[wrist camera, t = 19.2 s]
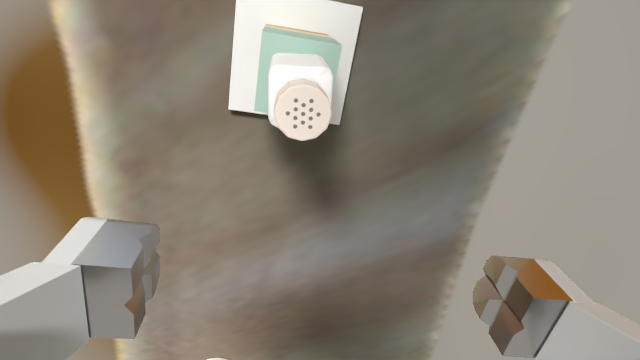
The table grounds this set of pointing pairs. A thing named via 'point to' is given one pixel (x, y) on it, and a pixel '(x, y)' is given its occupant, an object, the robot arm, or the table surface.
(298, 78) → the pepper shaker
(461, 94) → the table surface
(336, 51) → the sage brick
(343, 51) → the plate
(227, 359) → the white cup
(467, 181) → the table surface
